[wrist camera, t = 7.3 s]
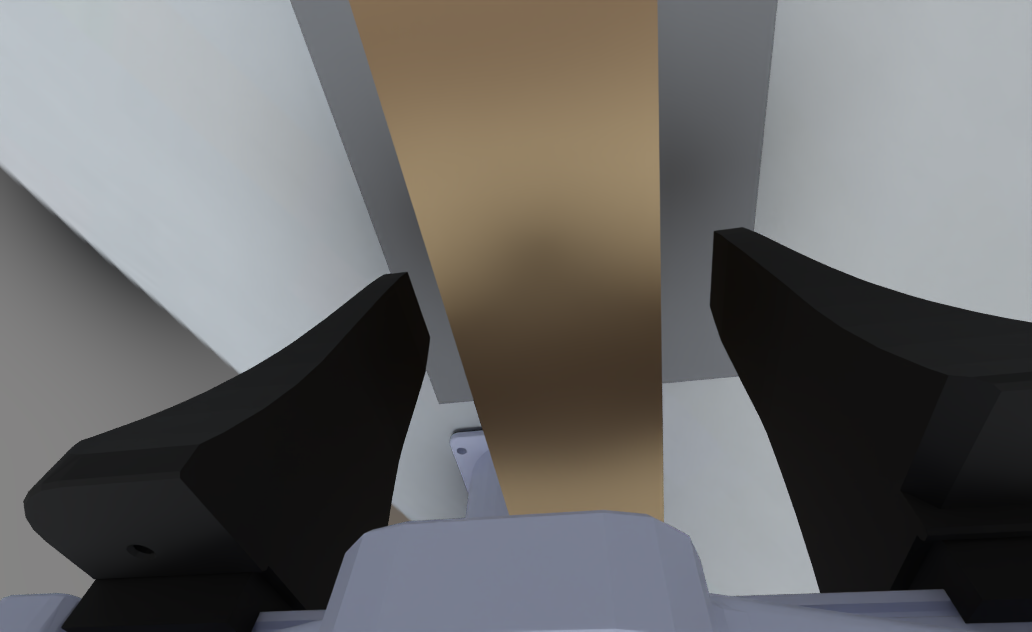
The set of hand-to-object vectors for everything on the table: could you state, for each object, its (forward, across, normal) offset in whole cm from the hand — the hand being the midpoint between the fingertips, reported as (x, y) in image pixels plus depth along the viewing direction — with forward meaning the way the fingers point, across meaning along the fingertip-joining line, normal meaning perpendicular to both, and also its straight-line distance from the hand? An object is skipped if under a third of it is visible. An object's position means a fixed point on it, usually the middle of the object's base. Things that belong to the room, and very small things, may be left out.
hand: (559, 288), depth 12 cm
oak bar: (+3, 0, 0) cm, 3 cm away
